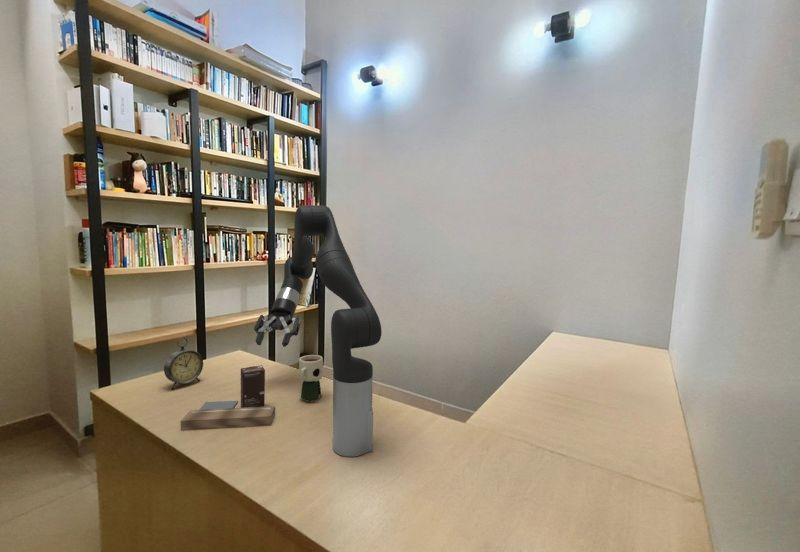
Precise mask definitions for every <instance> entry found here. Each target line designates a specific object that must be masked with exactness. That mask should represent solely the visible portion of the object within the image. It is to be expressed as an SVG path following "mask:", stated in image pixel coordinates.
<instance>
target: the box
mask: <svg viewBox="0 0 800 552" xmlns="http://www.w3.org/2000/svg"><path fill="white" fill-rule="evenodd" d="M265 385H266V370H265V368H264V366H263V365H262V364H261V365H253V366H247V367H240V408H246V407H266V406H265V404H266V403H265V394H266V393H265V392H266V390H265V389H266V388H265V387H266V386H265Z"/></svg>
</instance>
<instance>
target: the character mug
mask: <svg viewBox="0 0 800 552" xmlns="http://www.w3.org/2000/svg"><path fill="white" fill-rule="evenodd" d="M298 360H299V361H298V362H299V363H298V367H299V369H298V371H299V372H298V373H299V375H298V377H299V380H300V381H303V382H302V383H301V390H300V399H302V401H307V402H315V401H318V400H320V397H322V389H321V388H322V387H321V382H320V380H322V378H323V377H324V371H323V367H324V359H323V356H321V355H319V354H308V355H303V356H300V357H299V358H298Z"/></svg>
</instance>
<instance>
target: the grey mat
mask: <svg viewBox="0 0 800 552" xmlns="http://www.w3.org/2000/svg"><path fill="white" fill-rule="evenodd" d="M238 402H239V401H238V400H224V401H223V400H222V401H206V402H204V404H203V405H202V406H201V407H200V408H199V409H198V410H204V409H225V408H236V406H237V404H238Z"/></svg>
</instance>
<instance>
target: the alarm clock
mask: <svg viewBox="0 0 800 552" xmlns="http://www.w3.org/2000/svg"><path fill="white" fill-rule="evenodd" d="M182 339H184V340H185V341H186V343H185V344H184V345H181V346H180V345H179V341H180V340H182ZM188 342H189V341H188V338H186V337H184V336H181V337H180V338H178V340H177V342H176V345H177V347H179V348H180V349H178V350H176V351H174V352H173V353H171V354H170V355H169V356H168V357H167V358H166V360H165V362H164V366H163V371H164V372H163V373H164V376H165V377H166V378H167V379H168V380H169V381H170V382H173V384H172V387H171V388H170V390H174V389H175V387H176V385H177V384H179V385H187V384H190V383H191V382H193V381H195V380H196V381H197V382H200V379H199V378H198V377H199V376H200V375H201V373H202V371H203V369H204V361H203V360H204V358H203V357H202V355H201V354H200V353H199V351H196V350H193V349H185V346H187V345H188Z"/></svg>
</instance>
